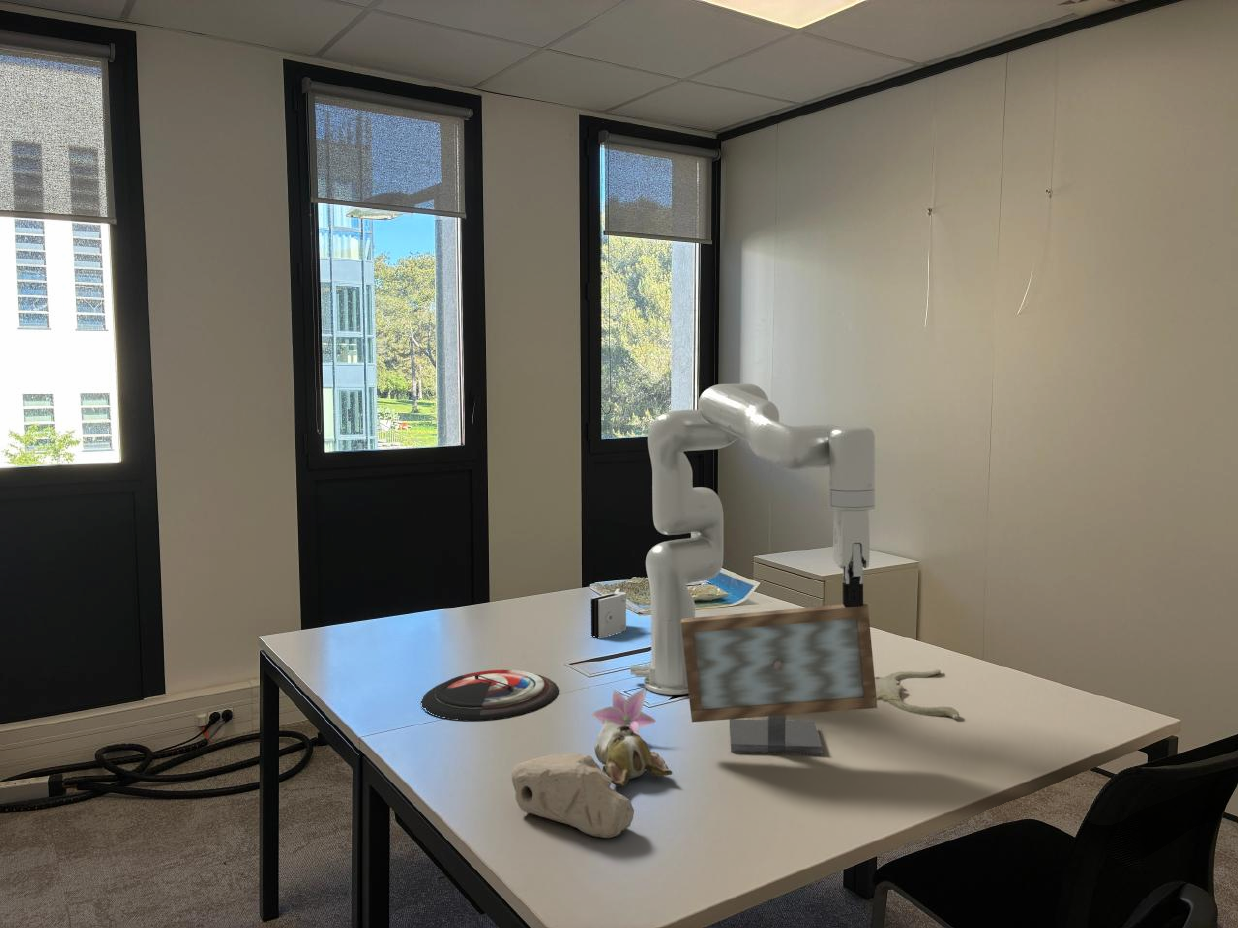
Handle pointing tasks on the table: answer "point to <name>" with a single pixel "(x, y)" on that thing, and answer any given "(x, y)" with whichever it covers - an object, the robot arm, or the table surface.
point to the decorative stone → (572, 794)
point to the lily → (626, 711)
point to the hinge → (608, 614)
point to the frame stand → (775, 736)
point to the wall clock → (490, 695)
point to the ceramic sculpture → (626, 754)
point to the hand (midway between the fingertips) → (852, 605)
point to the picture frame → (779, 662)
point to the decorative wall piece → (891, 690)
